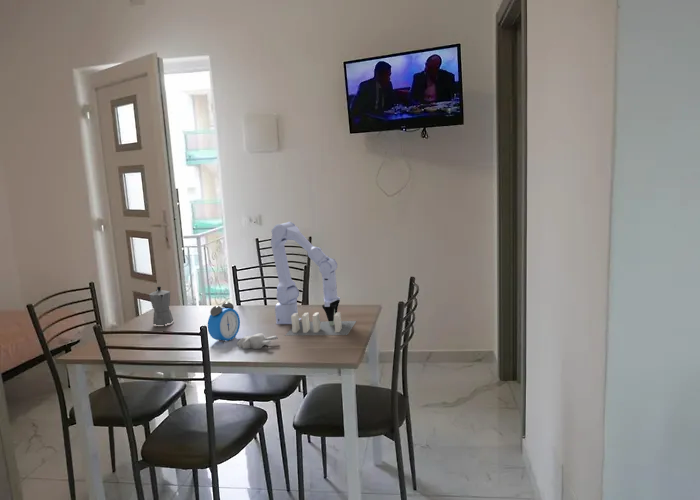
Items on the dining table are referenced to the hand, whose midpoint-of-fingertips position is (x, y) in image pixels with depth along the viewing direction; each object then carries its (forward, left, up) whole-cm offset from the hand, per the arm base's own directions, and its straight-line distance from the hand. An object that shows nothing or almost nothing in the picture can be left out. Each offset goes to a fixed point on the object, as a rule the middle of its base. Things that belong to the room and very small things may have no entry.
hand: (332, 319), depth 233 cm
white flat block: (+4, -9, -2) cm, 10 cm away
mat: (-4, -5, -3) cm, 7 cm away
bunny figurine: (-23, -28, -3) cm, 37 cm away
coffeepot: (-83, +5, -3) cm, 83 cm away
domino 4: (0, 0, -2) cm, 2 cm away
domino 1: (-14, -9, -2) cm, 16 cm away
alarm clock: (-41, -19, -3) cm, 45 cm away
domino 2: (-9, -9, -2) cm, 13 cm away
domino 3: (-5, -9, -2) cm, 10 cm away
